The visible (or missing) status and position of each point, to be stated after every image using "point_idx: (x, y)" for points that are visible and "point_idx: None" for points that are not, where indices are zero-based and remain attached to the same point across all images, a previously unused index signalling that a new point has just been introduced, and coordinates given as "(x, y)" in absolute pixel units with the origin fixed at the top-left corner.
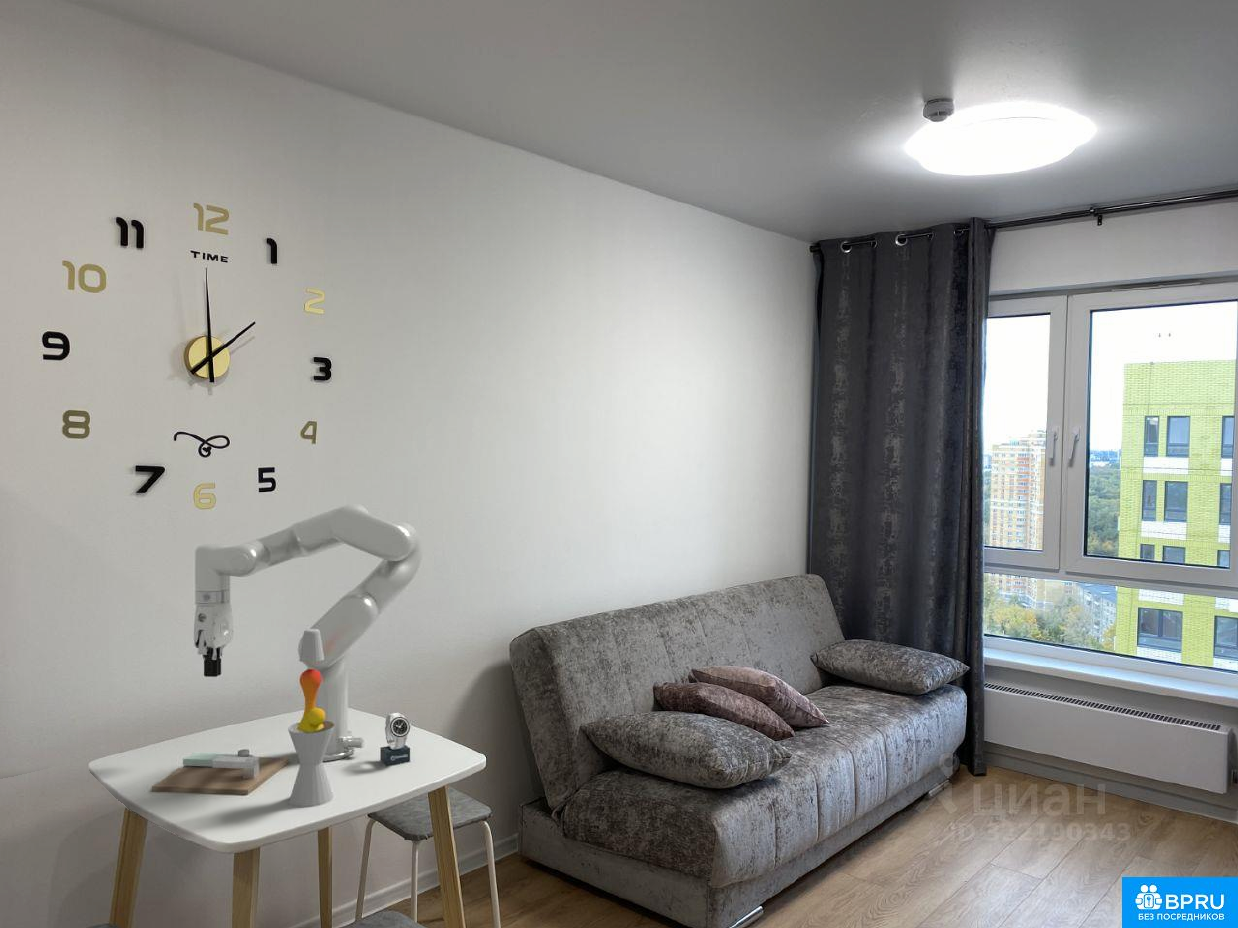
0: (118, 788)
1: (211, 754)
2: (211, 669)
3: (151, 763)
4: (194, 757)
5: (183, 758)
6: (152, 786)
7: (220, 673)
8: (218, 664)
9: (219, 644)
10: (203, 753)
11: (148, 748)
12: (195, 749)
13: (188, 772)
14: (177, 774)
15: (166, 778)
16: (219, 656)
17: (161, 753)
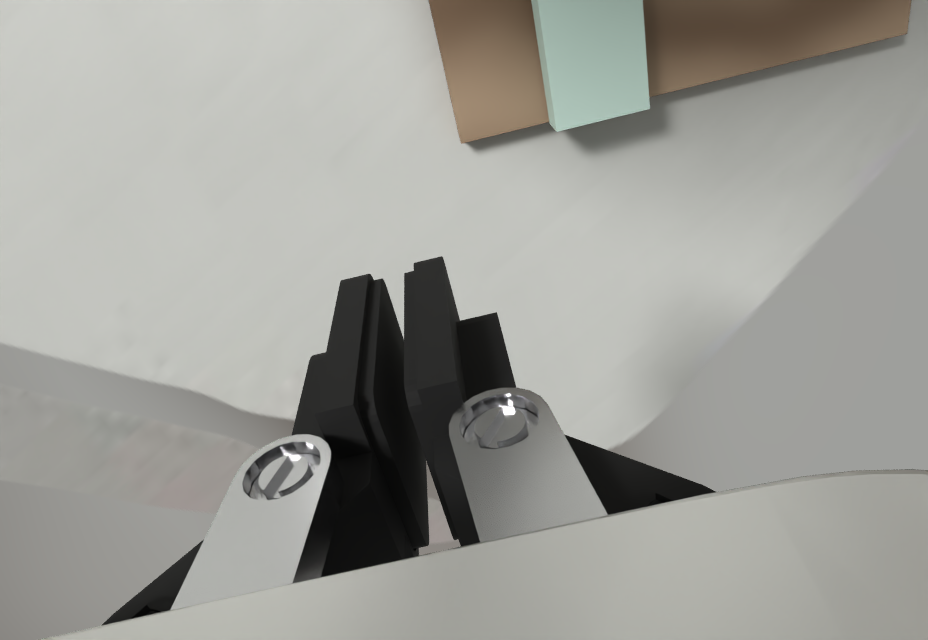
0: (857, 196)
1: (554, 4)
2: (502, 342)
3: (567, 300)
4: (620, 63)
5: (644, 109)
6: (907, 28)
7: (358, 278)
8: (380, 356)
9: (660, 554)
10: (549, 66)
11: None
12: (355, 269)
13: (710, 3)
14: (743, 37)
15: (799, 48)
16: (334, 449)
17: None
